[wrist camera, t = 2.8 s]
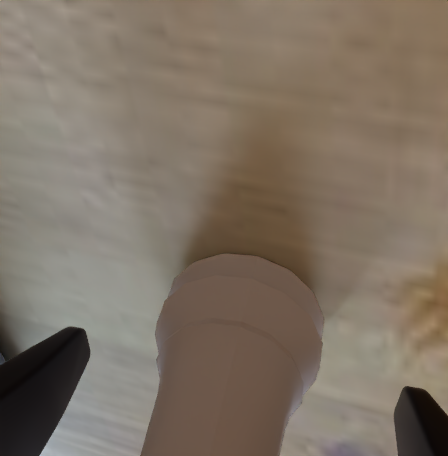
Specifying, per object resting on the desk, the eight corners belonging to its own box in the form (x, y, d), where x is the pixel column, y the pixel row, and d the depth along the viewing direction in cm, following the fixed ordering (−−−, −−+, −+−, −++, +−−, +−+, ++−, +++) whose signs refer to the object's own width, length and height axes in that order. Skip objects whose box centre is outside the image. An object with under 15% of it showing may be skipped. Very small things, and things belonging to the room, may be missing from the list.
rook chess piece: (178, 226, 9) (-224, 777, 2) (346, 267, 9) (505, 1157, 2) (166, 341, 11) (-57, 804, 4) (300, 380, 11) (287, 972, 4)
